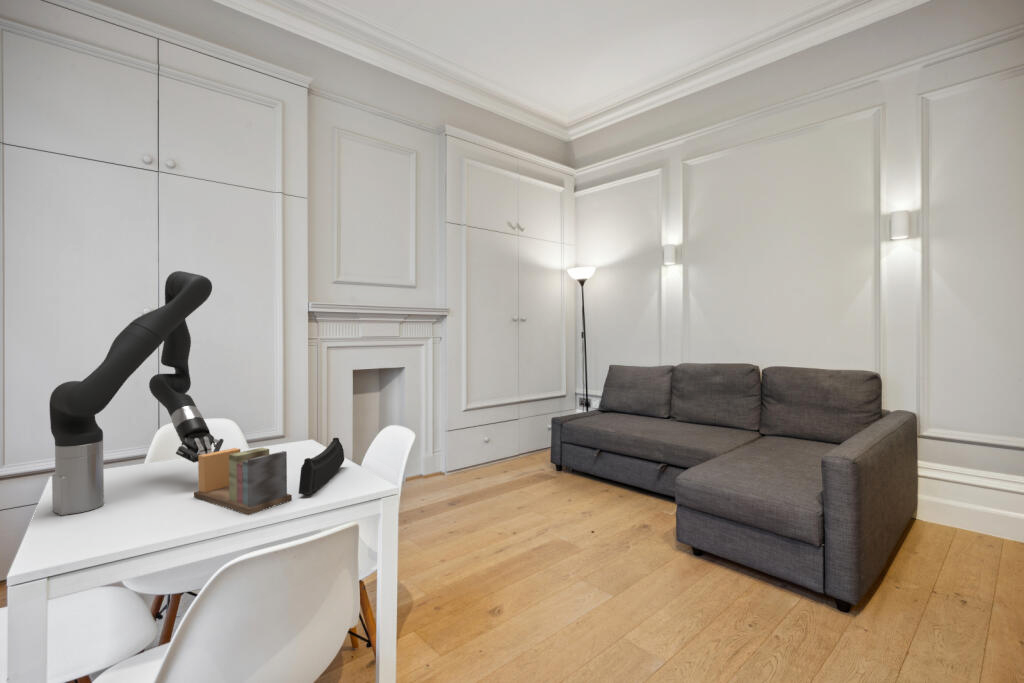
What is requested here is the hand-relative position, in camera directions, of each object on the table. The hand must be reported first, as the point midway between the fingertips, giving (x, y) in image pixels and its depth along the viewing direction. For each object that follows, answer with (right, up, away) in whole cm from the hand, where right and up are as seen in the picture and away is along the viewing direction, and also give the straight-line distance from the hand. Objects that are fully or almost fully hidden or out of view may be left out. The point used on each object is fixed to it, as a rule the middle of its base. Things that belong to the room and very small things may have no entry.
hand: (212, 469), depth 136 cm
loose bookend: (+4, -4, -2) cm, 6 cm away
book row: (+13, -6, -8) cm, 16 cm away
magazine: (+29, -6, +8) cm, 31 cm away
